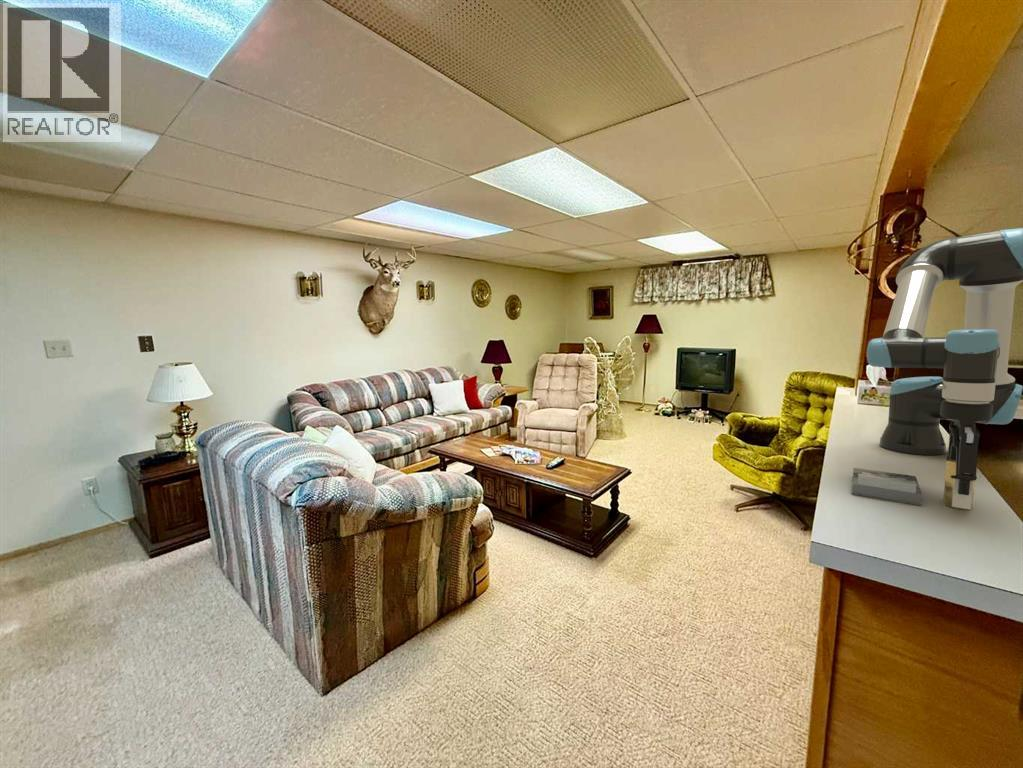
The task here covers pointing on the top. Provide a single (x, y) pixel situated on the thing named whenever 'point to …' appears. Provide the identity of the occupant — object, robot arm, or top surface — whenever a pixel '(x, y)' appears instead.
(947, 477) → the brass rounded cylinder
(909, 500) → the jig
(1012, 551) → the top surface
